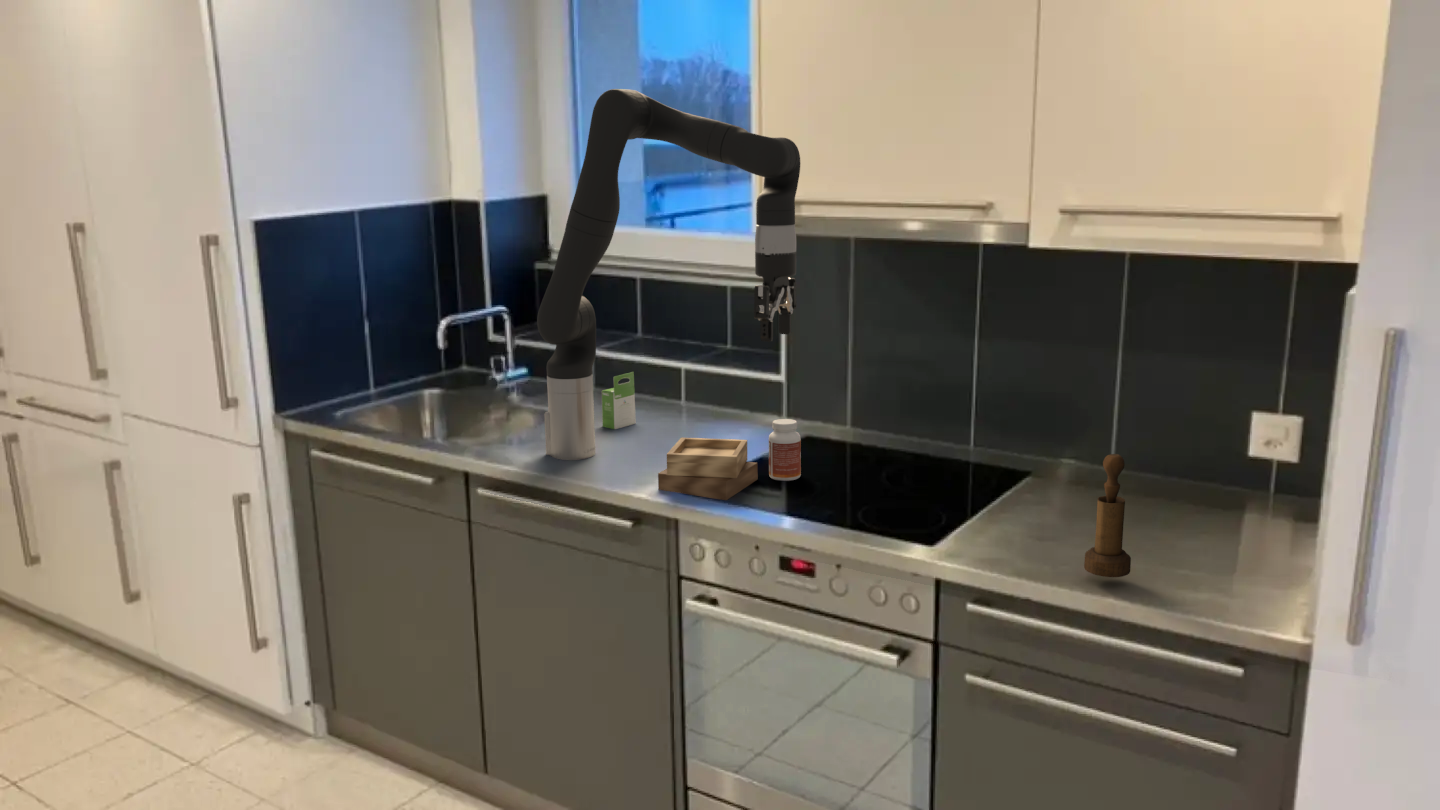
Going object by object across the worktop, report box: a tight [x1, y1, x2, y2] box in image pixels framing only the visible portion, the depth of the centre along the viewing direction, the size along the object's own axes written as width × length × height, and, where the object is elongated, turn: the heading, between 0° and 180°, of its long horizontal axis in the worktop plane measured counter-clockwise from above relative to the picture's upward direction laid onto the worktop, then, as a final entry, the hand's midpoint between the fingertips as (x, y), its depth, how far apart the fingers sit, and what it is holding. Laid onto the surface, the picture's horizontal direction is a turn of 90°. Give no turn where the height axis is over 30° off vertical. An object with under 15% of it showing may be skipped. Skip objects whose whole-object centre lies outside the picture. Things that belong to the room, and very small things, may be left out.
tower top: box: [666, 437, 748, 478], centre depth 225 cm, size 13×13×4 cm
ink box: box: [601, 371, 637, 430], centre depth 266 cm, size 7×4×13 cm, turn 141°
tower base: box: [657, 460, 759, 501], centre depth 226 cm, size 14×14×4 cm
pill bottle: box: [768, 418, 802, 482], centre depth 230 cm, size 6×6×11 cm
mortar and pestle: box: [1083, 453, 1132, 578], centre depth 178 cm, size 7×6×18 cm
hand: (775, 337), depth 221 cm, fingers open, 8 cm apart
